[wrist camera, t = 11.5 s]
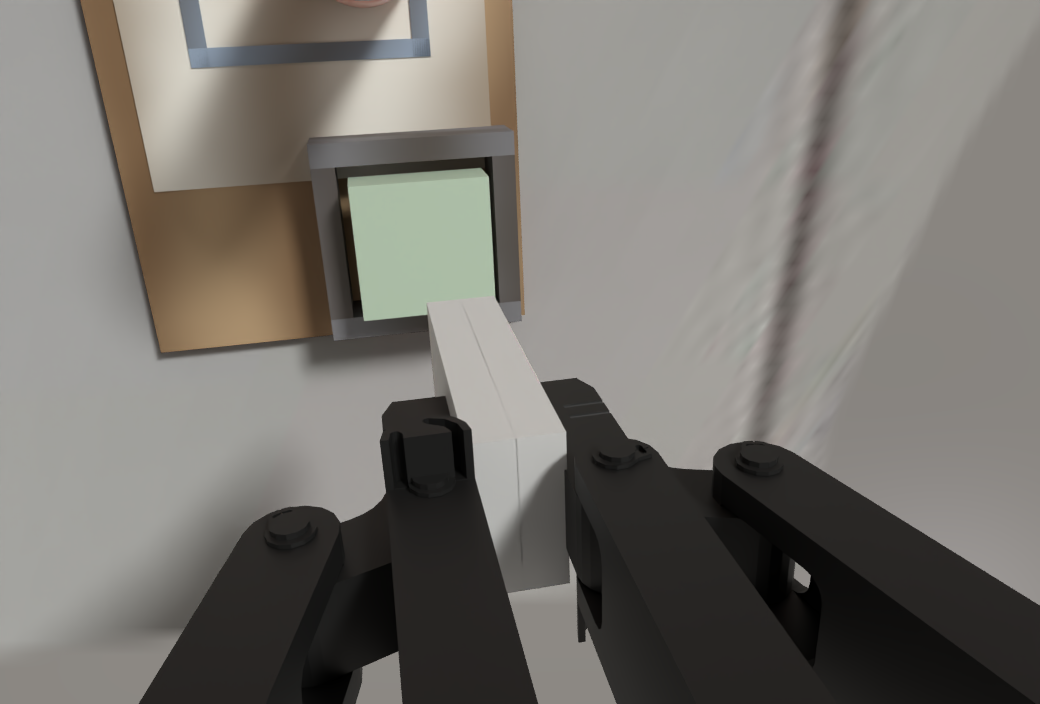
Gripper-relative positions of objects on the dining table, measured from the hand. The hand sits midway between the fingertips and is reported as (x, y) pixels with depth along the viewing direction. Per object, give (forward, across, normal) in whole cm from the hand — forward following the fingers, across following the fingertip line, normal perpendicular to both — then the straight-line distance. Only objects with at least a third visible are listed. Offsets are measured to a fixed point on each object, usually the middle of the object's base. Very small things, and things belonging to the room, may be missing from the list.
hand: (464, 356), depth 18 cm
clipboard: (+14, -3, +6) cm, 16 cm away
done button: (+12, 0, 0) cm, 12 cm away
